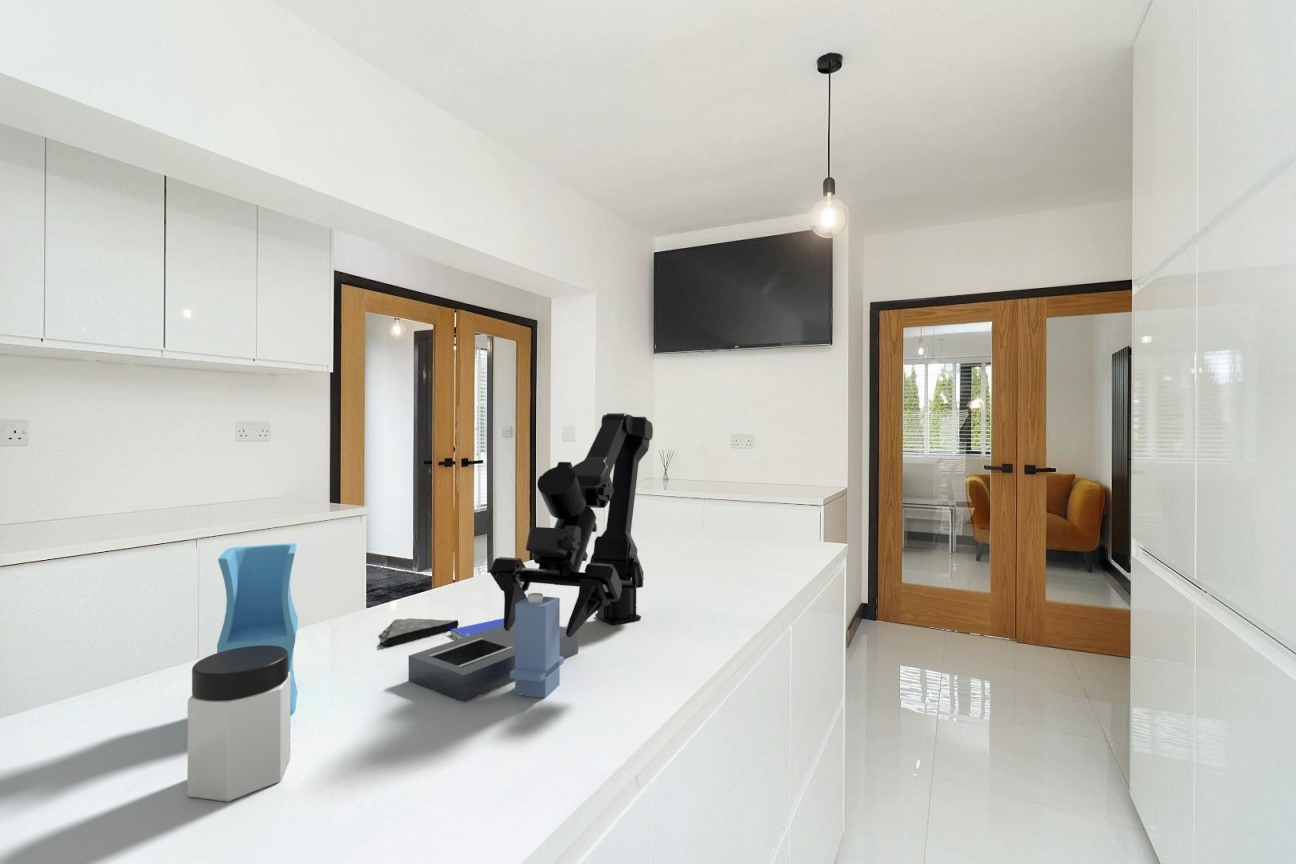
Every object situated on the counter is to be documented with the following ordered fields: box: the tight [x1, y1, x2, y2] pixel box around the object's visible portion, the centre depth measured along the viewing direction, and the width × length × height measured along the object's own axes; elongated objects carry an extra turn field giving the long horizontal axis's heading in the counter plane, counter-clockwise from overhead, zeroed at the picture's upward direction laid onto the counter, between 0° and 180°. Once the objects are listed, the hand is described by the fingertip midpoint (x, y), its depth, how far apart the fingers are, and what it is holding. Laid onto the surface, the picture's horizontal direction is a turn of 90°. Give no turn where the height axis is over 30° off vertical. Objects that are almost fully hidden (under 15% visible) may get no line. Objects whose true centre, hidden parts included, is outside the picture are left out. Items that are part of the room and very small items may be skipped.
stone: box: [378, 618, 459, 646], centre depth 107 cm, size 13×10×2 cm
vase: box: [216, 542, 299, 716], centre depth 77 cm, size 8×8×20 cm
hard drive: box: [450, 617, 504, 640], centre depth 107 cm, size 2×8×12 cm
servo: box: [510, 592, 565, 699], centre depth 84 cm, size 7×4×13 cm, turn 164°
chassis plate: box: [408, 622, 579, 703], centre depth 92 cm, size 22×12×4 cm, turn 145°
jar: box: [186, 645, 291, 803], centre depth 62 cm, size 9×8×12 cm
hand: (536, 632), depth 83 cm, fingers open, 9 cm apart
